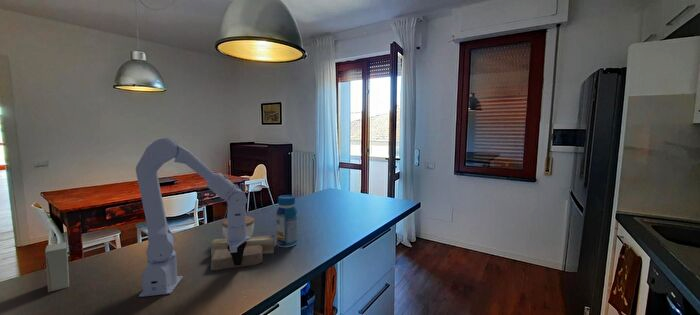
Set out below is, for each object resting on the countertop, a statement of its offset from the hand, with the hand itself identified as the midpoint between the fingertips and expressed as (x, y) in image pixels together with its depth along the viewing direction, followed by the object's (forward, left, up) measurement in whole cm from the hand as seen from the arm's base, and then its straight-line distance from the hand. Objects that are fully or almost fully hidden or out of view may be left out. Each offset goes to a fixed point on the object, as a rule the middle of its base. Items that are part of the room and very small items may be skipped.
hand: (238, 264), depth 93 cm
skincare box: (0, +50, -2) cm, 50 cm away
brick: (+5, +1, -2) cm, 6 cm away
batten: (+13, 0, -2) cm, 13 cm away
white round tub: (+26, +4, -2) cm, 26 cm away
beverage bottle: (+19, -16, -2) cm, 25 cm away
